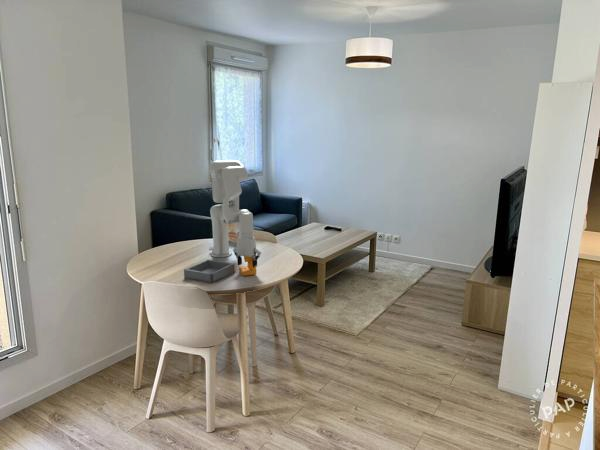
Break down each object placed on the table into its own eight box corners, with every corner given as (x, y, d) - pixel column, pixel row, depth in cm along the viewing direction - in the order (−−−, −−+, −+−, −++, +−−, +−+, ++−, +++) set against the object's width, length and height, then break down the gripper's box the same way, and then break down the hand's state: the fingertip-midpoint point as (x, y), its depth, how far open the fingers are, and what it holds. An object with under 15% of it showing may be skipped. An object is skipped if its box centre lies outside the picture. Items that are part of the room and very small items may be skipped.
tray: (184, 278, 233) (183, 269, 232) (208, 267, 250) (207, 259, 249) (212, 283, 225) (211, 274, 224) (234, 272, 242) (234, 263, 241)
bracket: (238, 271, 245) (238, 250, 242) (251, 269, 247) (250, 248, 245) (243, 277, 235) (242, 255, 232) (256, 275, 238) (255, 254, 235)
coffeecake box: (226, 240, 310) (225, 213, 306) (233, 238, 316) (232, 211, 311) (240, 244, 301) (239, 216, 297) (248, 242, 306) (247, 214, 302)
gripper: (228, 234, 237) (230, 265, 241) (256, 238, 229) (257, 269, 233) (236, 232, 244) (237, 261, 247) (263, 235, 236) (264, 265, 240)
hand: (247, 265), depth 240 cm, fingers open, 9 cm apart
